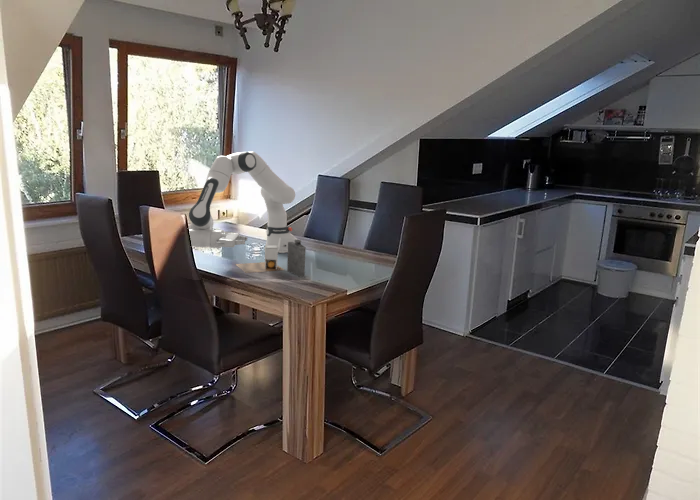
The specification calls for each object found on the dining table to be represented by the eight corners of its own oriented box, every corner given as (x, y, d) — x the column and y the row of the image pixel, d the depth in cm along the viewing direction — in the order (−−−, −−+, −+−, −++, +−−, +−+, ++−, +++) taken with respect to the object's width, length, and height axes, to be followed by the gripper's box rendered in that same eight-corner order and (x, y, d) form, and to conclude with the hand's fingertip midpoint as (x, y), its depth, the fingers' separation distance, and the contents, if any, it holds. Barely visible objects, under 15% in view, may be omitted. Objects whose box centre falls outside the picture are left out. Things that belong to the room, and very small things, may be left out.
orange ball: (273, 266, 277) (273, 259, 276) (275, 268, 274) (275, 261, 273) (266, 267, 275) (266, 260, 274) (268, 268, 272) (269, 261, 271)
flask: (292, 272, 273) (293, 237, 269) (306, 279, 262) (308, 242, 258) (286, 272, 271) (287, 237, 267) (300, 280, 260) (301, 243, 256)
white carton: (265, 266, 277) (266, 245, 275) (277, 266, 277) (277, 245, 275) (264, 269, 271) (265, 247, 269) (276, 269, 272) (277, 248, 269)
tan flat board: (272, 263, 287) (272, 261, 287) (284, 272, 272) (284, 269, 272) (235, 266, 278) (235, 264, 278) (245, 275, 262) (245, 273, 262)
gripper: (214, 236, 258) (243, 238, 259) (221, 229, 278) (248, 230, 279) (214, 249, 260) (243, 251, 261) (221, 241, 280) (248, 242, 281)
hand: (246, 240), depth 270 cm, fingers open, 8 cm apart
